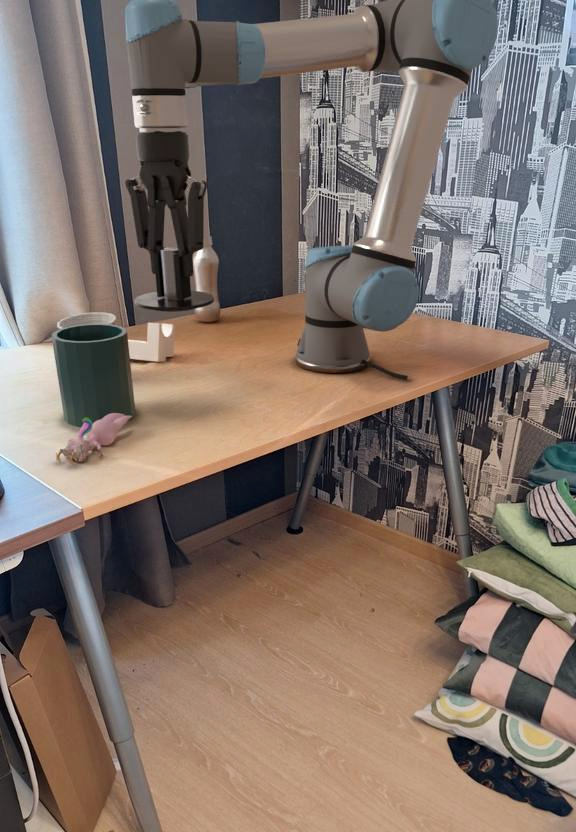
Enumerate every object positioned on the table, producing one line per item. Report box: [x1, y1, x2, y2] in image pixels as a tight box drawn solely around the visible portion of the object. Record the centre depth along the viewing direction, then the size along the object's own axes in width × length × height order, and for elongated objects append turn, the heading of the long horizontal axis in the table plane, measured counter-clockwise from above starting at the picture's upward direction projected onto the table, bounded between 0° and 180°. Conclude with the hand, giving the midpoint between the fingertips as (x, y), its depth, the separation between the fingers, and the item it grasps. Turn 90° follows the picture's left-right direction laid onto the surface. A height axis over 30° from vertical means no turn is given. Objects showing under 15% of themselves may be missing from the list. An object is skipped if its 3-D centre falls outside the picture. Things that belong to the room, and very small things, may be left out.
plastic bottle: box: [193, 235, 222, 323], centre depth 175 cm, size 6×7×20 cm
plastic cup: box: [56, 311, 117, 330], centre depth 136 cm, size 11×11×12 cm
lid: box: [134, 247, 214, 313], centre depth 114 cm, size 13×13×9 cm
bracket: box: [128, 322, 176, 363], centre depth 151 cm, size 13×7×8 cm, turn 72°
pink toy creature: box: [55, 413, 133, 468], centre depth 109 cm, size 6×6×15 cm
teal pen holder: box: [51, 324, 137, 428], centre depth 118 cm, size 12×12×14 cm
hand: (174, 296), depth 115 cm, fingers closed on lid, 3 cm apart
